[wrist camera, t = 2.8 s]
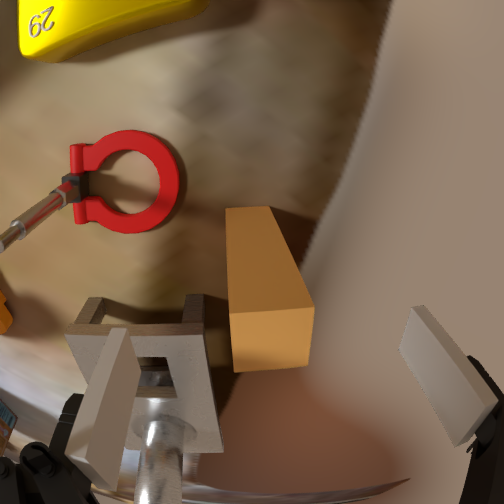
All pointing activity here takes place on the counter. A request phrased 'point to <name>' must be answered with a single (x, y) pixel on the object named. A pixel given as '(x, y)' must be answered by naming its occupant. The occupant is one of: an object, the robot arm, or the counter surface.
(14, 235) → the tow hook
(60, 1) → the element tile
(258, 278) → the wedge pin
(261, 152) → the counter surface
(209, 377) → the windowed plate knob
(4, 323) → the bracket
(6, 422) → the milk carton
